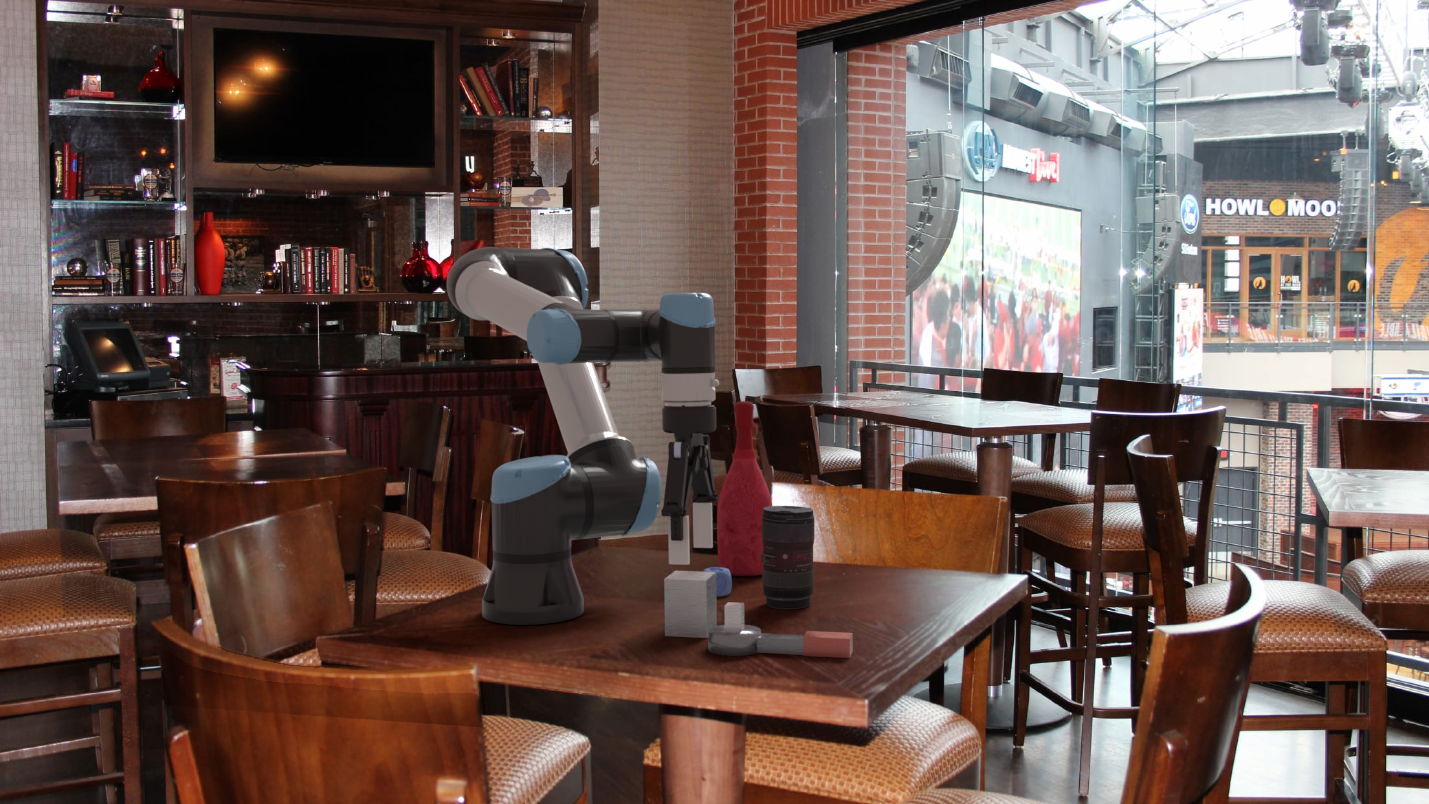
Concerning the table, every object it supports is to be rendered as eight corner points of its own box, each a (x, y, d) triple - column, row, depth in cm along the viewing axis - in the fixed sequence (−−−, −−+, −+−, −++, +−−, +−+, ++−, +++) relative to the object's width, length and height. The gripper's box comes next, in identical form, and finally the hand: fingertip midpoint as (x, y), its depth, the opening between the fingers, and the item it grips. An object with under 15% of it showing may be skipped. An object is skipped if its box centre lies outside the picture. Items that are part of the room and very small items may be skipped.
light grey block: (664, 635, 170) (664, 578, 170) (676, 625, 176) (675, 570, 176) (706, 638, 169) (706, 580, 169) (716, 627, 175) (716, 572, 174)
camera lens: (811, 611, 184) (811, 512, 183) (758, 609, 186) (757, 511, 185) (817, 600, 192) (817, 505, 191) (766, 598, 194) (766, 504, 193)
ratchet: (702, 654, 160) (702, 609, 160) (715, 641, 167) (714, 597, 167) (847, 662, 156) (847, 615, 156) (854, 648, 163) (854, 603, 163)
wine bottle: (718, 567, 220) (716, 399, 218) (773, 566, 220) (772, 399, 218) (716, 578, 210) (714, 403, 208) (773, 577, 210) (772, 402, 208)
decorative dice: (725, 590, 200) (725, 566, 200) (732, 596, 196) (731, 571, 196) (701, 592, 199) (701, 568, 199) (707, 597, 195) (707, 572, 195)
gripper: (693, 408, 158) (696, 572, 159) (734, 399, 182) (736, 541, 183) (637, 408, 159) (640, 571, 160) (685, 399, 184) (687, 540, 185)
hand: (691, 555), depth 172 cm, fingers open, 13 cm apart
